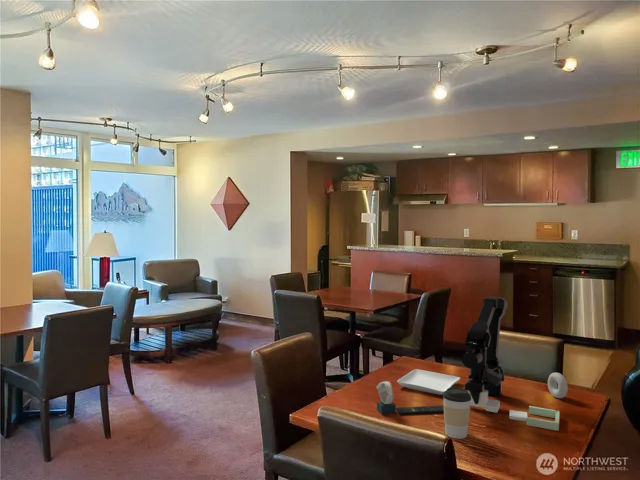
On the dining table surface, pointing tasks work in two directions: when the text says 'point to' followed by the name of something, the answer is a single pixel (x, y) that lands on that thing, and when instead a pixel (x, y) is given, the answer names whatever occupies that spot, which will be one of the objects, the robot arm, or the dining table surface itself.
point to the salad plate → (428, 381)
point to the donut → (562, 385)
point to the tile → (518, 415)
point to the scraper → (486, 402)
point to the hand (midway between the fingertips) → (477, 402)
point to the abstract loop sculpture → (386, 403)
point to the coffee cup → (456, 412)
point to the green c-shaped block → (541, 422)
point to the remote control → (420, 410)
